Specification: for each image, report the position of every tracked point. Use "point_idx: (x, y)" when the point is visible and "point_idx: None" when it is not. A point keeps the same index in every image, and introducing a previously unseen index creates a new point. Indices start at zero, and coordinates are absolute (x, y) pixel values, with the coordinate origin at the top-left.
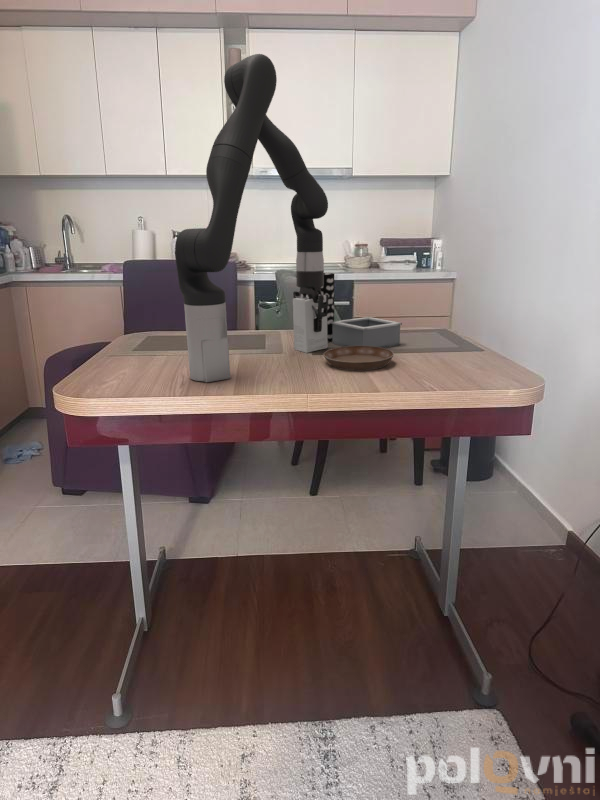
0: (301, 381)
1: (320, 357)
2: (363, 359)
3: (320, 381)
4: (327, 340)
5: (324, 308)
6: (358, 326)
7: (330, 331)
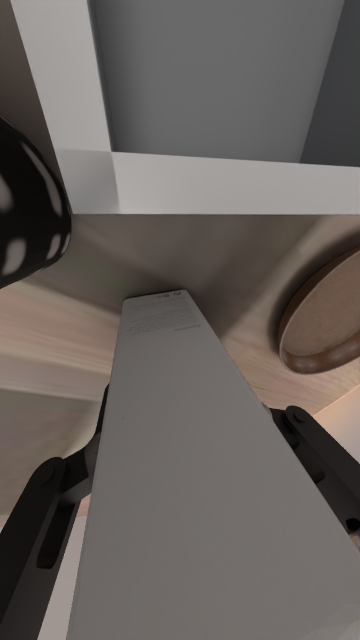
0: (301, 401)
1: (241, 344)
2: (337, 290)
3: (320, 388)
4: (192, 299)
5: (324, 459)
6: (353, 182)
7: (33, 177)
